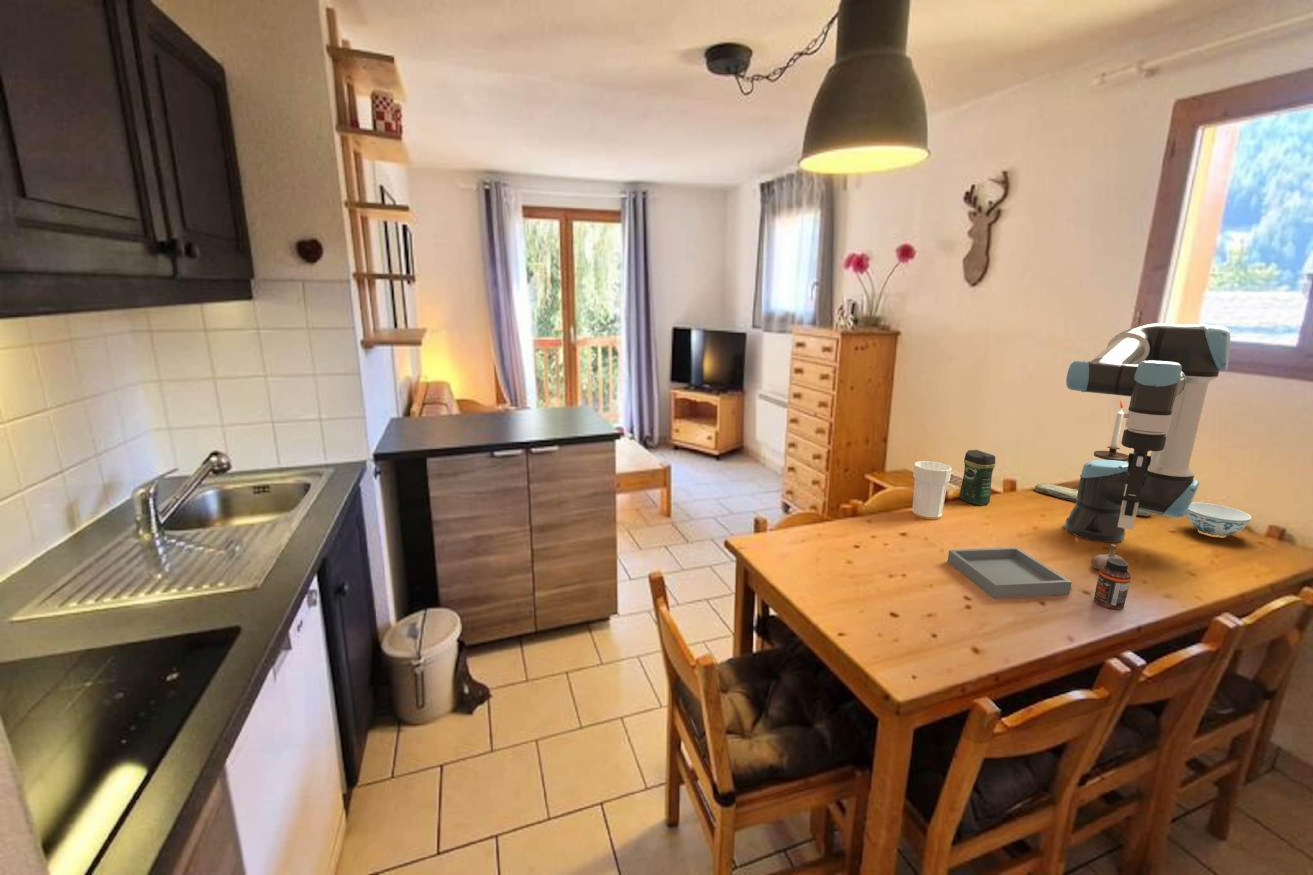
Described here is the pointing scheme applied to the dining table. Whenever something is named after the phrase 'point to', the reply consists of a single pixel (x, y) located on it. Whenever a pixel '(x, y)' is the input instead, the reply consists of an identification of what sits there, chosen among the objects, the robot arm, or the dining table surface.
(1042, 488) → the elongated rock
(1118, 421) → the candlestick
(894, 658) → the dining table surface
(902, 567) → the dining table surface
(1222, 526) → the chinaware
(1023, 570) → the tray
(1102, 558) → the garlic bulb
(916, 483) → the cup
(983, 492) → the coffee jar
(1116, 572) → the supplement bottle
